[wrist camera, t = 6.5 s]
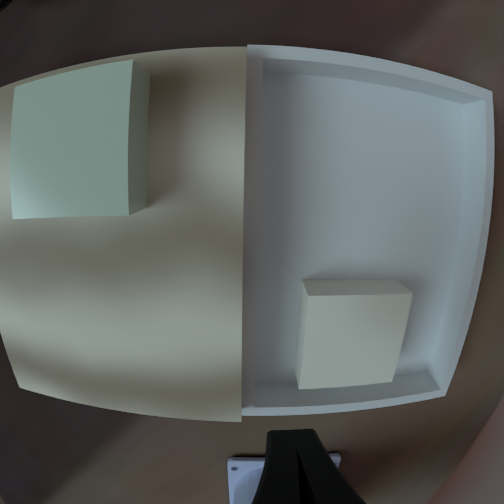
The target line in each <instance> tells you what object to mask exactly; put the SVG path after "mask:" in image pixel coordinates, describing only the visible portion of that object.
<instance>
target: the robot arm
mask: <svg viewBox="0 0 504 504" xmlns="http://www.w3.org/2000/svg"><path fill="white" fill-rule="evenodd" d="M340 461H341V457H340V455H339V454H337V453H333V454H328V453H327V451H326V449H325V448H324V446H323V444H322V442H321V441H320V439H319V437H318V435H317V433H316V431H315V430H313V429H299V430H271V431H270V432H268V433H267V441H266V454H265V457H263V458H249V457H232V458H230V459H228V482H229V499H230V504H366V503H365V502H364V501H363V499H362V498H361V497H360V496H359V495H358V494H357V493H356V491H355V490H354V489H353V488H352V486H351V485H350V484H349V483H348V481H347V480H346V479H345V477H344V476H343V475H342V473H341V472H340V471H339V469H338V467H339V464H340Z"/></svg>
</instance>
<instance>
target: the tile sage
mask: <svg viewBox="0 0 504 504" xmlns="http://www.w3.org/2000/svg"><path fill="white" fill-rule="evenodd" d="M150 79H151V75H150V74H149V73H148V72H147V71H146V70H144V69H143V68H142V67H141V66H140V65H139V64H138V63H136V62H135V61H134V60H126V61H119V62H113V63H107V64H102V65H97V66H92V67H87V68H82V69H78V70H73V71H69V72H65V73H61V74H57V75H53V76H49V77H46V78H42V79H39V80H35V81H32V82H29V83H25V84H22V85H19V86H16V87H15V90H14V99H13V109H12V123H11V144H10V180H11V202H12V216H13V219H26V218H51V217H83V216H129V215H131V214H134V213H136V212H138V211H141V210H143V209H145V208H148V188H147V151H148V115H149V95H150Z"/></svg>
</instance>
